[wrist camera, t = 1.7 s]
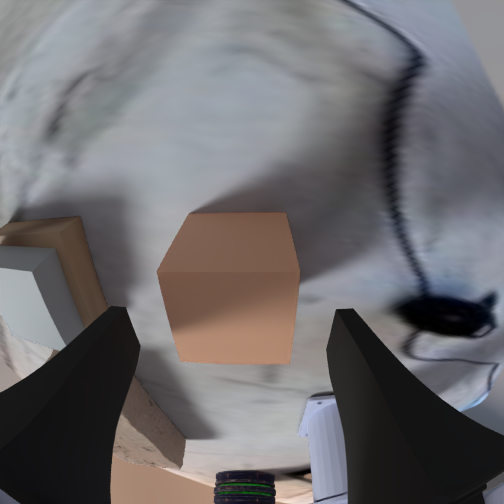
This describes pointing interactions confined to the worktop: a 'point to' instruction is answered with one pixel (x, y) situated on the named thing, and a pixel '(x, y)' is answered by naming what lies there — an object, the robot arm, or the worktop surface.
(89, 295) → the tower base
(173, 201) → the worktop surface
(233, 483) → the storage jar
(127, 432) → the brick
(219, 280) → the terracotta block
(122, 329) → the robot arm
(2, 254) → the grey flat square block
